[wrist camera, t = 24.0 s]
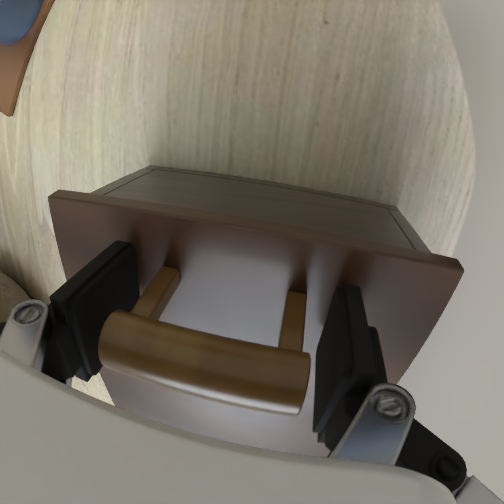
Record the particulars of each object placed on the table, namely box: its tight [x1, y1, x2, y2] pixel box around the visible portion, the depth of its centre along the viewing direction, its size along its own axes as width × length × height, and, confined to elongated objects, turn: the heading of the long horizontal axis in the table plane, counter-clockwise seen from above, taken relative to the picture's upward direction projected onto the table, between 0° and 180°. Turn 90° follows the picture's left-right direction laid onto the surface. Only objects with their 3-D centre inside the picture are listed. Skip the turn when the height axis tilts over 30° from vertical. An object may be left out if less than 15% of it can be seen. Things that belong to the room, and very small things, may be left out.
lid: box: [48, 190, 464, 458], centre depth 13 cm, size 18×16×5 cm
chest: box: [90, 166, 431, 253], centre depth 19 cm, size 17×16×7 cm
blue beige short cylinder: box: [0, 0, 43, 46], centre depth 12 cm, size 7×7×4 cm
